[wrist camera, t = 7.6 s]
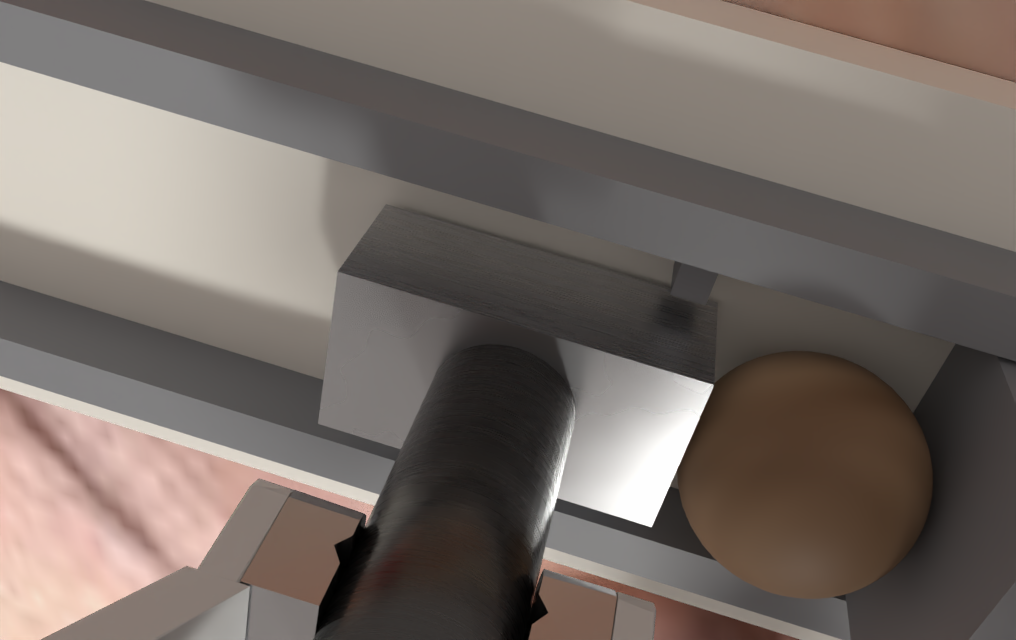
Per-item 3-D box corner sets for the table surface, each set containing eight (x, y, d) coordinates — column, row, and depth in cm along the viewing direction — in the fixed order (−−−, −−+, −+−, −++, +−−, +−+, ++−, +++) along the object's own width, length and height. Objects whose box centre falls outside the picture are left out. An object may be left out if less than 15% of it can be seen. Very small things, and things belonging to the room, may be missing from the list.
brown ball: (933, 331, 16) (1023, 500, 13) (838, 492, 18) (894, 671, 15) (709, 281, 16) (743, 442, 13) (640, 451, 18) (654, 626, 15)
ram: (717, 302, 16) (688, 964, 8) (661, 437, 18) (587, 1094, 10) (385, 203, 17) (4, 735, 8) (363, 346, 18) (33, 904, 10)
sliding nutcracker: (1247, 147, 15) (1533, 398, 9) (904, 619, 22) (956, 920, 16) (-220, -263, 16) (-701, -247, 11) (-107, 305, 23) (-365, 488, 18)
